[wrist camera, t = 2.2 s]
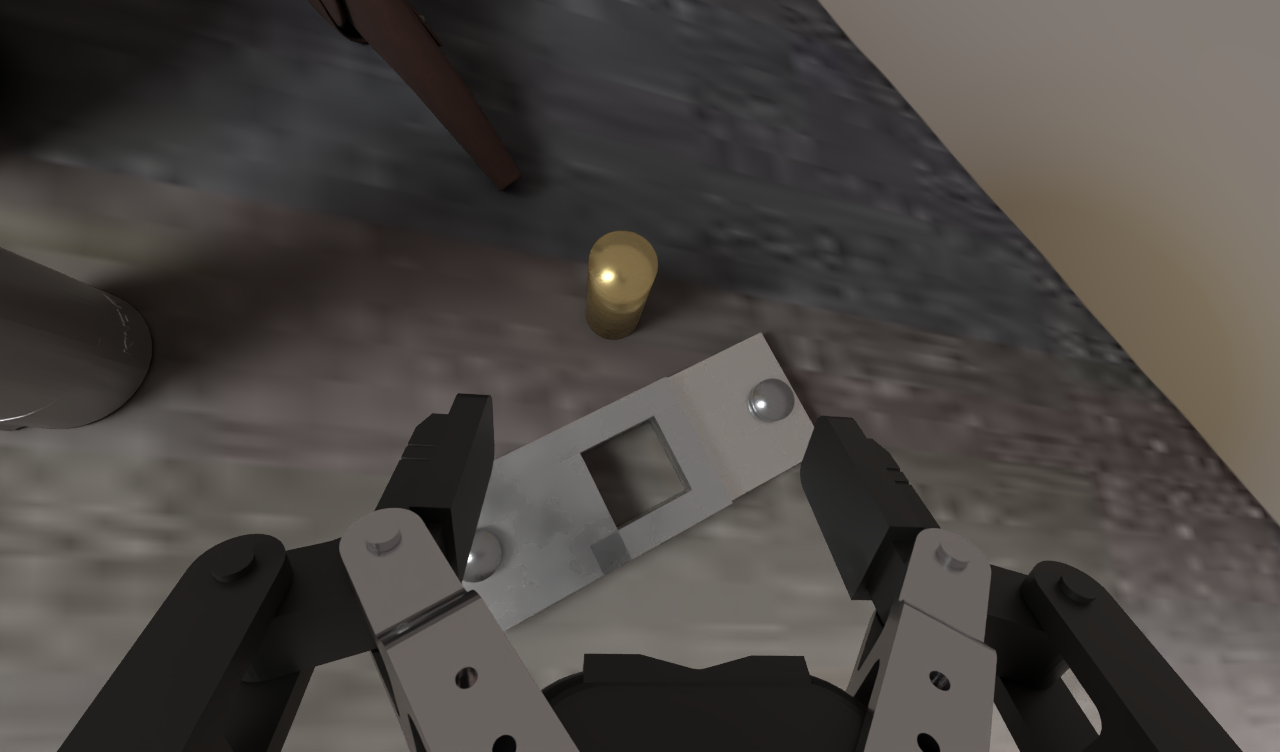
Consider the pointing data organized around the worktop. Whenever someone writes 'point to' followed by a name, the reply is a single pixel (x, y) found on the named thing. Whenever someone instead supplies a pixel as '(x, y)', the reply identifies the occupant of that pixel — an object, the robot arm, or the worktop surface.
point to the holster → (424, 74)
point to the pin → (619, 283)
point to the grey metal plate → (593, 546)
